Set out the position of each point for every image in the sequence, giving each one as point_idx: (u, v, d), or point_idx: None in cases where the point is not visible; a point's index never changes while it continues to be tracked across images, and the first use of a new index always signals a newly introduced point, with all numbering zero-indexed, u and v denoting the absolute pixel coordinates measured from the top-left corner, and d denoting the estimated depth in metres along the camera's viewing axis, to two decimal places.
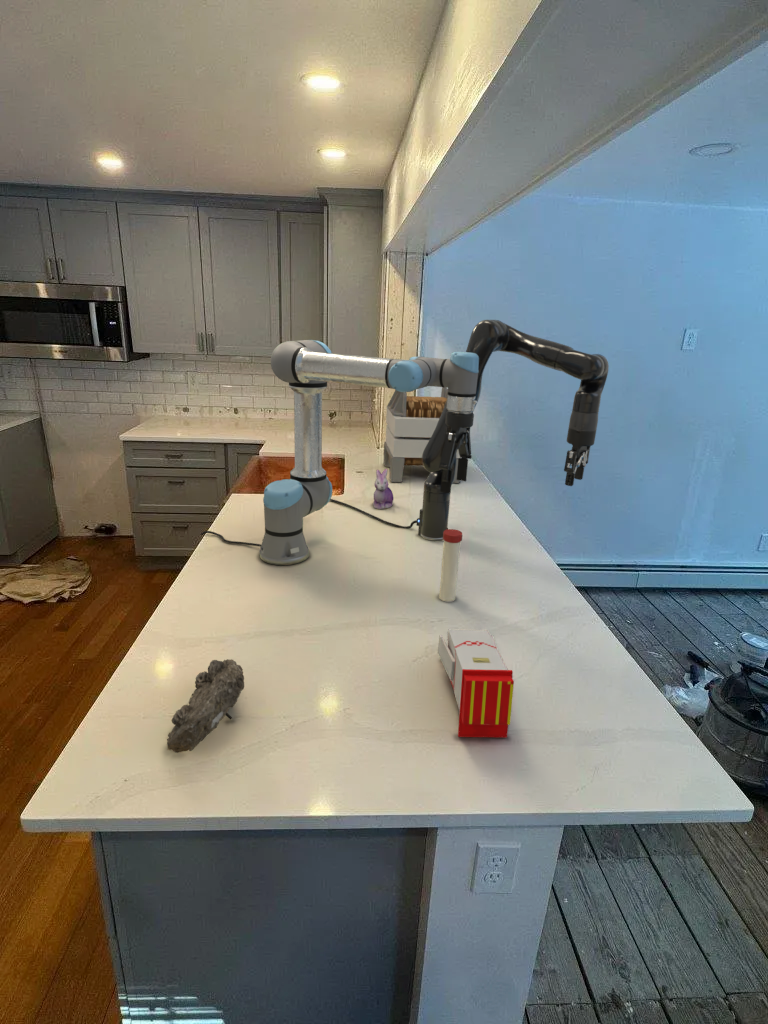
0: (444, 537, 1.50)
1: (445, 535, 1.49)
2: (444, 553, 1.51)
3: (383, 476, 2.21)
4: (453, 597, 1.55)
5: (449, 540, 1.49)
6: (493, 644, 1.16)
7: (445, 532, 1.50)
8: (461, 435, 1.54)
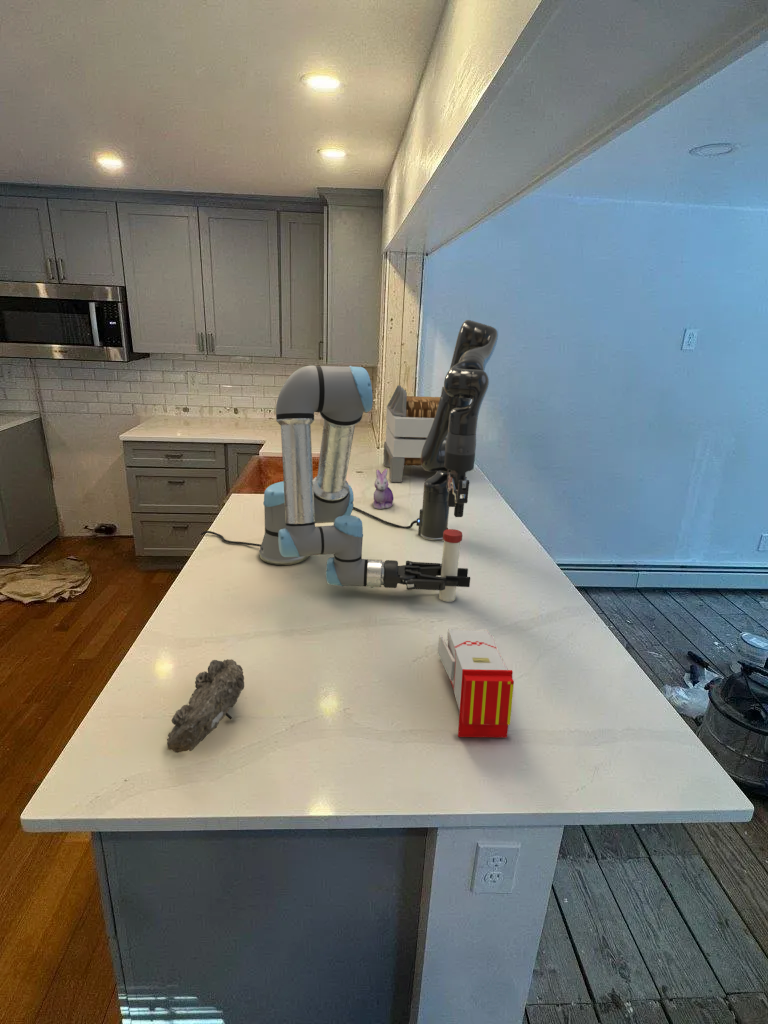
0: (444, 537, 1.50)
1: (445, 535, 1.49)
2: (444, 553, 1.51)
3: (383, 476, 2.21)
4: (453, 597, 1.55)
5: (449, 540, 1.49)
6: (493, 644, 1.16)
7: (445, 532, 1.50)
8: None
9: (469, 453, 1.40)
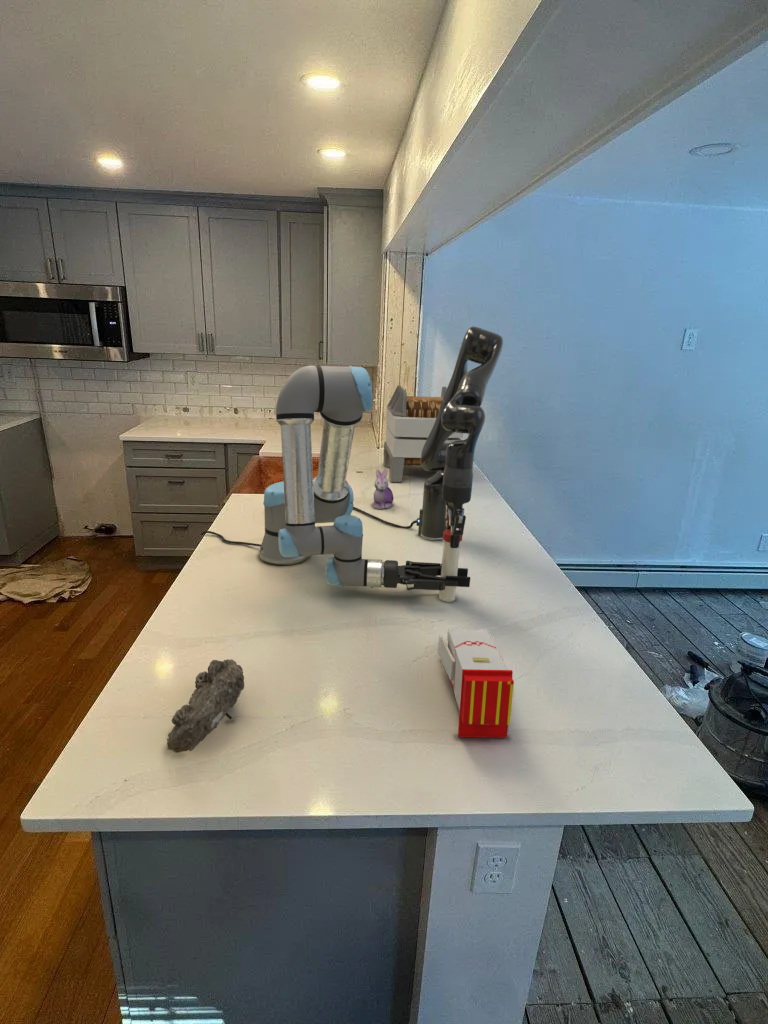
0: (444, 537, 1.50)
1: (445, 535, 1.49)
2: (444, 553, 1.51)
3: (383, 476, 2.21)
4: (453, 597, 1.55)
5: (449, 540, 1.49)
6: (493, 644, 1.16)
7: (445, 532, 1.50)
8: None
9: (466, 486, 1.43)
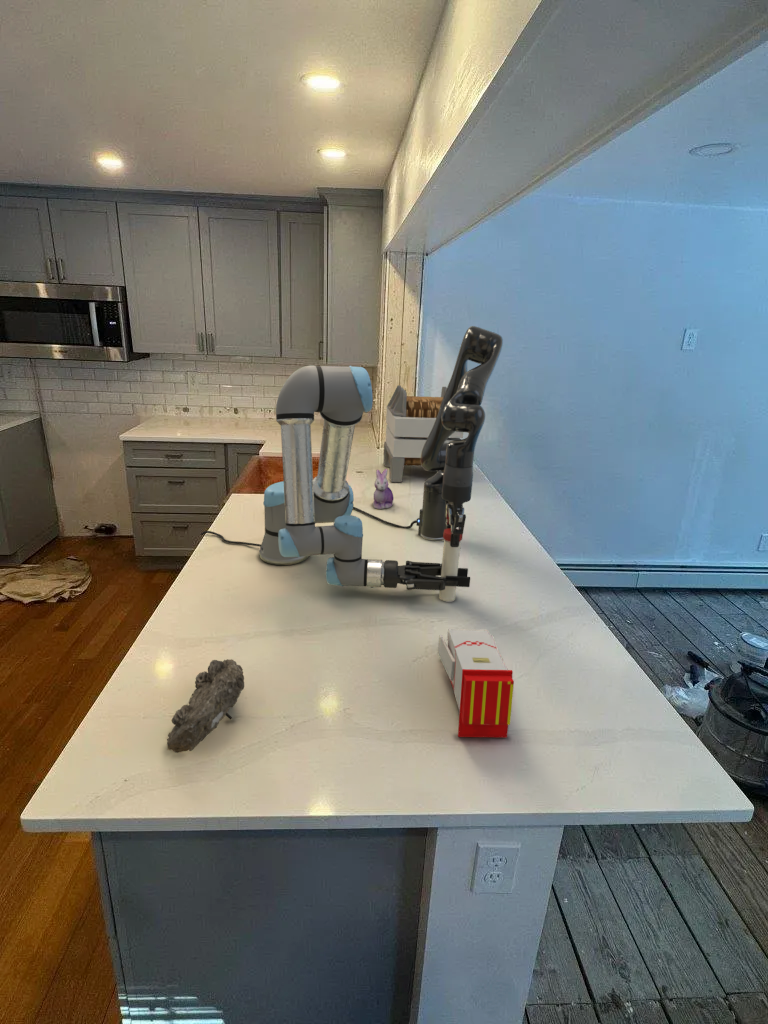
0: None
1: None
2: (445, 553, 1.51)
3: (383, 476, 2.21)
4: (453, 597, 1.55)
5: (460, 538, 1.49)
6: (493, 644, 1.16)
7: None
8: None
9: (466, 485, 1.42)
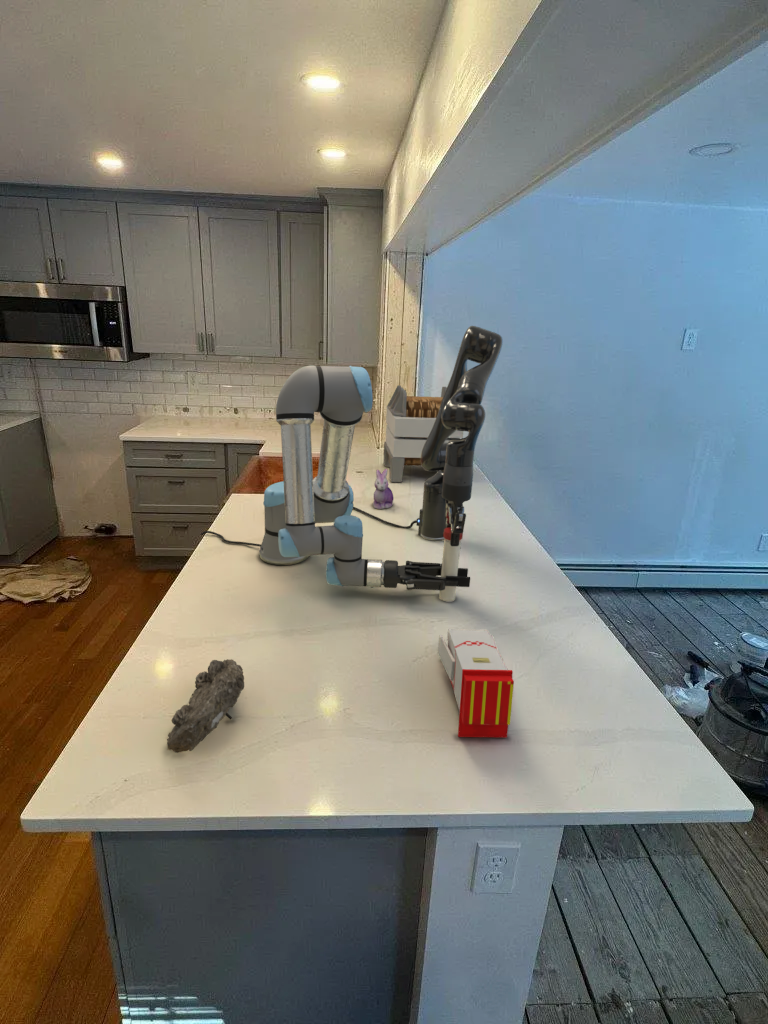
0: None
1: None
2: (445, 553, 1.51)
3: (383, 476, 2.21)
4: (453, 597, 1.55)
5: None
6: (493, 644, 1.16)
7: None
8: None
9: (466, 484, 1.42)
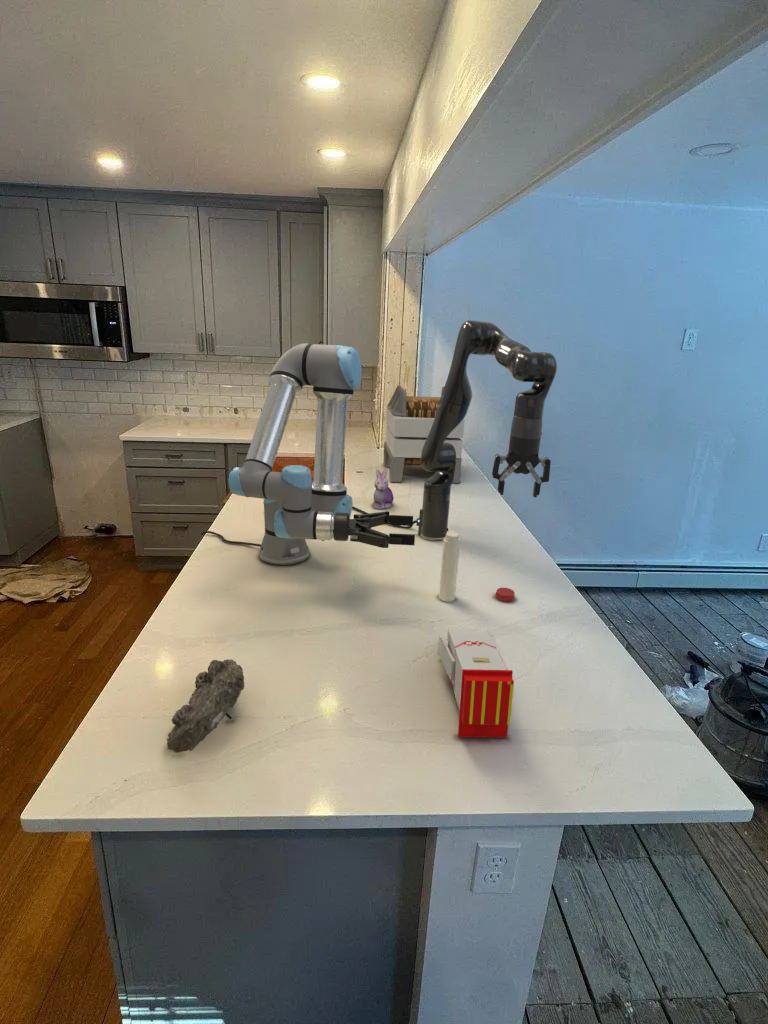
0: None
1: None
2: (444, 553, 1.51)
3: (383, 476, 2.21)
4: (453, 597, 1.55)
5: None
6: (493, 644, 1.16)
7: (507, 588, 1.59)
8: None
9: None
